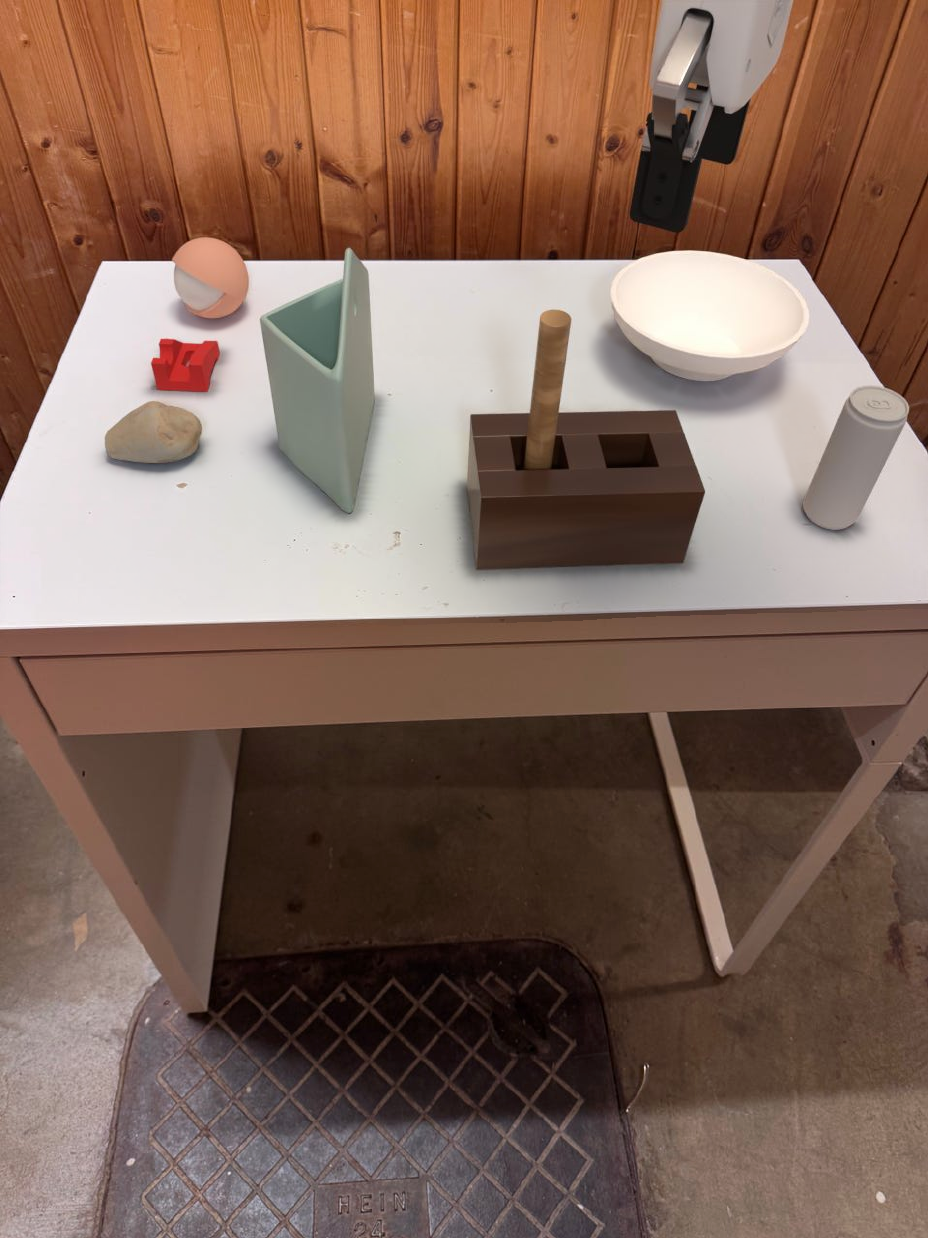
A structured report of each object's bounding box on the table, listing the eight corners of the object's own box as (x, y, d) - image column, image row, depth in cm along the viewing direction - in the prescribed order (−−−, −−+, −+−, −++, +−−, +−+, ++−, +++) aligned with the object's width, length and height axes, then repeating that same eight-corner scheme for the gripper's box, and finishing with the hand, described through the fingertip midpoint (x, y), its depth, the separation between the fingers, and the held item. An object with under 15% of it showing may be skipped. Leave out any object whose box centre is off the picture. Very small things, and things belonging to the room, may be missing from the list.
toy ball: (166, 307, 99) (149, 236, 93) (229, 284, 103) (217, 215, 97) (203, 341, 96) (188, 270, 90) (267, 316, 99) (257, 246, 93)
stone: (156, 502, 84) (213, 443, 81) (94, 461, 80) (152, 398, 77) (159, 465, 89) (213, 408, 86) (101, 425, 85) (156, 365, 83)
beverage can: (794, 495, 83) (841, 383, 74) (847, 496, 84) (899, 384, 74) (808, 532, 80) (858, 421, 71) (863, 533, 80) (919, 422, 71)
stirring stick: (547, 521, 80) (576, 314, 65) (536, 536, 79) (564, 329, 64) (523, 512, 81) (547, 305, 65) (513, 528, 79) (535, 320, 64)
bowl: (594, 404, 91) (604, 343, 86) (605, 299, 104) (615, 240, 98) (795, 428, 90) (818, 368, 84) (782, 319, 102) (801, 261, 97)
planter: (294, 393, 90) (269, 192, 75) (375, 398, 90) (365, 198, 75) (261, 508, 80) (224, 300, 65) (353, 513, 80) (336, 307, 65)
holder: (683, 563, 77) (705, 491, 71) (476, 569, 76) (481, 497, 70) (657, 481, 84) (676, 409, 78) (466, 486, 83) (470, 413, 77)
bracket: (207, 391, 90) (201, 365, 88) (157, 389, 90) (150, 363, 88) (219, 353, 94) (214, 327, 92) (172, 351, 94) (166, 325, 92)
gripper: (807, -143, 35) (701, 273, 48) (887, -210, 45) (782, 149, 59) (622, -171, 37) (569, 236, 50) (739, -230, 47) (669, 122, 60)
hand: (683, 189), depth 54 cm, fingers open, 9 cm apart
